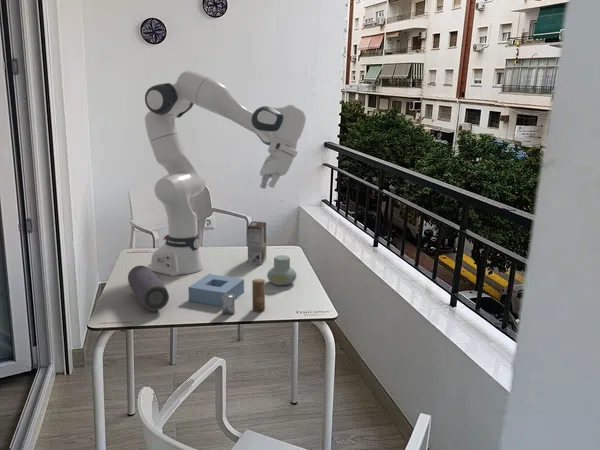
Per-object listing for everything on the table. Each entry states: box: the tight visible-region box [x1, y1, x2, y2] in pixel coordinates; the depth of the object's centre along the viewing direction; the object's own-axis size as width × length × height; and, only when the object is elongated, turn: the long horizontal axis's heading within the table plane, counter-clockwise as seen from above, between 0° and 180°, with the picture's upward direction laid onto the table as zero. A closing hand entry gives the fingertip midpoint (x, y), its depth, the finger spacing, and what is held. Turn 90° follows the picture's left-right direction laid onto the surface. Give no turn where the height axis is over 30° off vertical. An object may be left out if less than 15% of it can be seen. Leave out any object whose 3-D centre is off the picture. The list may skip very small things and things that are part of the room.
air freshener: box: [266, 254, 297, 287], centre depth 192 cm, size 11×8×10 cm
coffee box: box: [247, 221, 267, 266], centre depth 216 cm, size 9×6×16 cm
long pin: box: [251, 278, 266, 313], centre depth 168 cm, size 4×4×10 cm
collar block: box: [187, 273, 245, 307], centre depth 179 cm, size 14×14×5 cm
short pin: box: [221, 293, 236, 316], centre depth 165 cm, size 4×4×6 cm
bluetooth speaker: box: [127, 265, 170, 311], centre depth 173 cm, size 23×9×10 cm, turn 30°
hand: (266, 187), depth 177 cm, fingers open, 8 cm apart
